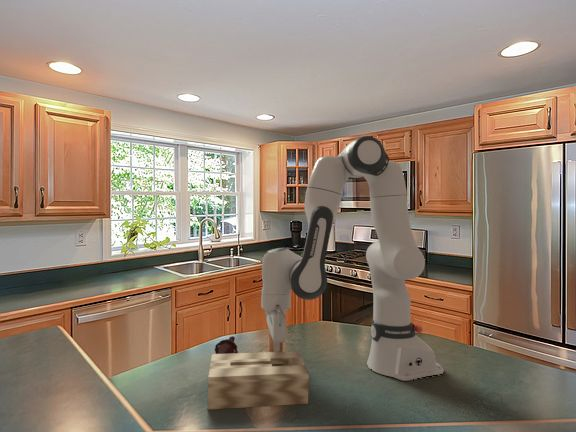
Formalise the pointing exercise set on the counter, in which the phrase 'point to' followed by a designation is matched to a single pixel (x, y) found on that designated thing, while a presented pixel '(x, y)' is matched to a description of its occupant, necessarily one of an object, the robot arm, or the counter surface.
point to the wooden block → (270, 344)
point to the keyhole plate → (257, 380)
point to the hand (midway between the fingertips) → (275, 347)
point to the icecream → (226, 346)
